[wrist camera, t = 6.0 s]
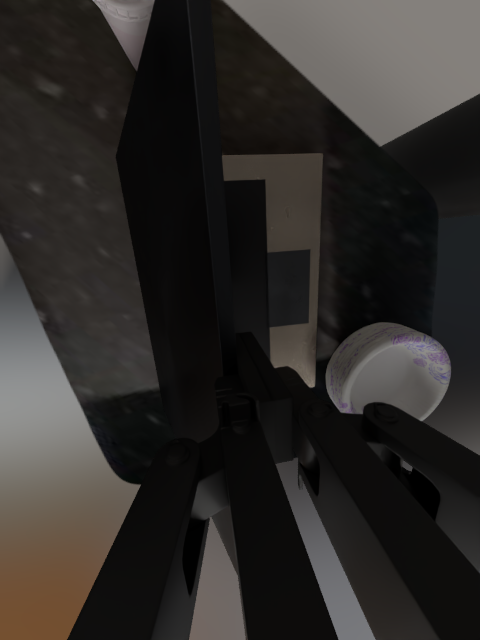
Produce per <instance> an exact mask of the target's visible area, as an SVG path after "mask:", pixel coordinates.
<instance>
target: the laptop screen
mask: <svg viewBox="0 0 480 640" xmlns="http://www.w3.org/2000/svg"><path fill="white" fill-rule="evenodd" d="M116 161H117V166H118V171H119V176H120V182H121V187H122V192H123V197H124V203H125V208H126V213H127V219H128V224H129V229H130V234H131V240H132V245H133V250H134V255H135V261H136V266H137V271H138V276H139V282H140V287H141V292H142V297H143V303H144V308H145V313H146V318H147V324H148V329H149V334H150V339H151V345H152V350H153V355H154V360H155V366H156V371H157V376H158V381H159V387H160V392H161V397H162V402H163V408H164V412H165V414H166V416H167V419H168V421H169V423H170V425H171V428H172V430H173V432H174V434H175V437H176V439H178V438H190V439H193V440H194V441H196V442H197V443H199V442H202V441H204V440H206V439H207V438H209V437H210V436H212V435H213V434H214V433H215V431H216V430H217V428H218V426H219V422H218V414H217V405H216V396H215V388H214V383H215V381H216V379H217V378H218V377H222V376H228V375H235V374H238V367H237V349H236V336H235V322H234V309H233V296H232V282H231V269H230V255H229V242H228V229H227V215H226V202H225V188H224V175H223V162H222V148H221V135H220V122H219V108H218V95H217V81H216V68H215V55H214V41H213V28H212V14H211V1H210V0H155V1H154V5H153V9H152V13H151V17H150V21H149V25H148V29H147V33H146V37H145V41H144V45H143V49H142V53H141V57H140V61H139V65H138V69H137V73H136V77H135V81H134V85H133V89H132V93H131V97H130V102H129V106H128V110H127V114H126V118H125V122H124V126H123V130H122V134H121V138H120V142H119V146H118V150H117V154H116ZM211 517H212V519H213V521H214V523H215V526H216V528H217V530H218V533H219V535H220V537H221V539H222V542H223V544H224V546H225V548H226V551H227V553H228V555H229V557H230V559H231V562H232V564H233V566H234V568H235V571H236V573H237V565H236V557H235V549H234V541H233V533H232V525H231V517H230V509H229V506H227V507H226V508H224V509H222V510H221V511H219V512H217V513H216V514H214V515H213V516H211ZM237 575H238V573H237Z"/></svg>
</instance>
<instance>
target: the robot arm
mask: <svg viewBox="0 0 480 640" xmlns="http://www.w3.org/2000/svg"><path fill="white" fill-rule="evenodd" d="M235 336H236V349H237V367H238V374H235V375H228V376H222V377H218V378H217V379H216V381H215V383H214V388H215V396H216V405H217V414H218V422H219V426H218V428H217V430H216V431H215V433H214V434H213V435H212V436H210V437H209V438H207V439H206V440H204V441H202V442H199V443H197V442H196V441H194V440H193V439H190V438H178V439H174V440H172V441H170V442H167V443H166V444H165V445H164V446H162V447H161V448H160V449H159V451H158V452H157V453H156V455H155V457H154V459H153V461H152V463H151V465H150V467H149V469H148V471H147V474H146V476H145V478H144V480H143V482H142V484H141V486H140V488H139V490H138V492H137V495H136V497H135V499H134V501H133V503H132V505H131V507H130V509H129V511H128V513H127V515H126V518H125V520H124V522H123V524H122V526H121V528H120V530H119V532H118V535H117V536H116V539H115V541H114V543H113V545H112V547H111V549H110V551H109V553H108V555H107V558H106V559H105V562H104V564H103V566H102V568H101V570H100V572H99V575H98V576H97V578H96V580H95V582H94V585H93V587H92V589H91V591H90V593H89V595H88V597H87V600H86V602H85V603H84V606H83V608H82V610H81V612H80V614H79V616H78V618H77V620H76V622H75V624H74V626H73V629H72V631H71V633H70V635H69V637H68V639H67V640H189V635H190V630H191V625H192V619H193V613H194V607H195V601H196V596H197V590H198V584H199V578H200V573H201V567H202V561H203V555H204V549H205V544H206V538H207V532H208V527H209V520H210V517H211V516H213V515H214V514H216V513H217V512H219V511H221V510H222V509H224V508H226V507H227V506H229V509H230V517H231V525H232V533H233V541H234V549H235V557H236V565H237V573H238V581H239V589H240V596H241V604H242V612H243V620H244V628H245V636H246V640H338V637H337V635H336V632H335V629H334V626H333V623H332V620H331V618H330V615H329V612H328V610H327V607H326V604H325V601H324V598H323V595H322V593H321V590H320V587H319V584H318V582H317V579H316V576H315V573H314V571H313V568H312V565H311V562H310V559H309V556H308V554H307V551H306V548H305V545H304V543H303V540H302V537H301V534H300V532H299V529H298V526H297V523H296V520H295V517H294V515H293V512H292V509H291V506H290V504H289V501H288V498H287V495H286V492H285V490H284V487H283V484H282V481H281V479H280V476H279V473H278V470H277V468H276V465H275V464H277V463H282V462H287V461H292V460H293V449H294V451H295V453H296V455H297V457H298V486H299V489H300V490H301V489H302V483H303V482H304V484H305V486H306V489H307V491H308V493H309V495H310V497H311V499H312V501H313V504H314V506H315V508H316V510H317V512H318V515H319V517H320V519H321V521H322V523H323V525H324V527H325V530H326V532H327V534H328V536H329V539H330V541H331V543H332V545H333V547H334V549H335V552H336V554H337V556H338V558H339V560H340V563H341V565H342V567H343V569H344V571H345V573H346V576H347V578H348V580H349V582H350V585H351V587H352V589H353V591H354V593H355V595H356V597H357V599H358V602H359V604H360V606H361V609H362V611H363V613H364V615H365V617H366V619H367V622H368V624H369V626H370V628H371V630H372V633H373V635H374V637H375V639H376V640H480V455H478V454H476V453H474V452H473V451H471V450H469V449H468V448H466V447H464V446H463V445H461V444H459V443H457V442H456V441H454V440H452V439H451V438H449V437H447V436H446V435H444V434H442V433H440V432H439V431H437V430H435V429H434V428H432V427H430V426H429V425H427V424H425V423H423V422H422V421H420V420H418V419H417V418H415V417H413V416H411V415H410V414H408V413H406V412H405V411H403V410H401V409H400V408H398V407H395V406H393V405H391V404H387V403H383V402H372V403H368V404H367V405H365V406H364V409H363V414H352V413H342V412H340V411H339V410H338V409H337V408H336V407H335V406H334V405H332V404H331V403H329V402H326V401H324V400H319V399H318V398H317V397H316V395H315V394H314V393H313V391H312V390H311V389H310V388H309V386H308V385H307V384H306V383H305V381H304V380H303V379H302V378H301V376H300V375H299V374H298V373H297V371H296V370H294V369H292V368H290V367H289V366H284V367H277V368H274V366H273V365H272V363H271V361H270V360H269V358H268V357H267V355H266V354H265V352H264V350H263V349H262V347H261V346H260V344H259V343H258V341H257V340H256V338H255V336H254V335H253V333H252V332H243V333H235ZM403 460H404V461H405V462H407V463H408V464H409V465H411V466H412V467H413V469H412V472H411V471H408V470H406V469H405V468H403V467H402V464H403Z"/></svg>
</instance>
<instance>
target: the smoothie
mask: <svg viewBox="0 0 480 640" xmlns="http://www.w3.org/2000/svg"><path fill="white" fill-rule="evenodd" d="M93 1H94V2H95V3H96V4H97V6H98V7H99V8H100V10H101V11H102V13H103V14H104V16H105V18H106V20H107V21H108V23H109V25H110V27H111V28H112V30H113V32H114V34H115V35H116V37H117V39H118V41H119V42H120V44H121V46H122V48H123V49H124V51H125V53H126V55H127V56H128V58H129V60H130V62H131V63H132V65H133V67H134V68H135V70H136V71H137V69H138V65H139V61H140V57H141V53H142V49H143V45H144V41H145V37H146V33H147V29H148V25H149V21H150V17H151V13H152V9H153V5H154V1H155V0H93Z"/></svg>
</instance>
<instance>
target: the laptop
mask: <svg viewBox="0 0 480 640" xmlns="http://www.w3.org/2000/svg"><path fill="white" fill-rule="evenodd" d="M222 162H223V175H224V188H225V202H226V215H227V229H228V242H229V255H230V269H231V282H232V296H233V309H234V322H235V333H243V332H252V333H253V335H254V336H255V338H256V340H257V341H258V343H259V344H260V346H261V347H262V349H263V350H264V352H265V354H266V355H267V357H268V358H269V360H270V361H271V363H272V365H273V366H274V368H277V367H284V366H289V367H290V368H292V369H294V370H296V371H297V373H298V374H299V375H300V376H301V378H302V379H303V380H304V381H305V383H306V384H307V385H308V386H309V387H315V368H316V339H317V311H318V282H319V253H320V224H321V196H322V167H323V153H318V154H268V155H222Z"/></svg>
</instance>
